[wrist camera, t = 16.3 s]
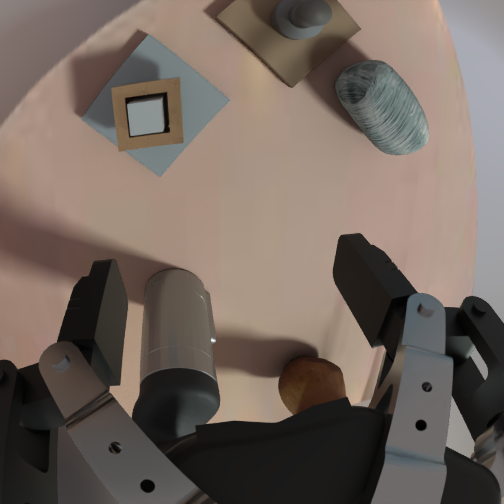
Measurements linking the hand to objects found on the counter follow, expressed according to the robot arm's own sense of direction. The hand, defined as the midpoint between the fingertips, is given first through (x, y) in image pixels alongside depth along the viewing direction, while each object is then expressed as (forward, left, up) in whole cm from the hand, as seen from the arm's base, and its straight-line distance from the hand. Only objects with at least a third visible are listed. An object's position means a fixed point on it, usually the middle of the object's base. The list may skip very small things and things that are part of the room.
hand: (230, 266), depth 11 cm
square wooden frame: (+5, +2, -24) cm, 25 cm away
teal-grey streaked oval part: (-14, -17, -28) cm, 36 cm away
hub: (+5, +2, -28) cm, 29 cm away
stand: (+1, -16, -28) cm, 32 cm away
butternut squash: (-48, +23, -28) cm, 60 cm away
